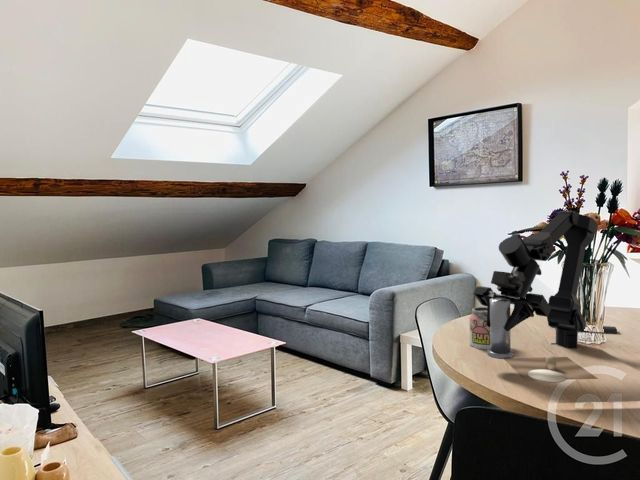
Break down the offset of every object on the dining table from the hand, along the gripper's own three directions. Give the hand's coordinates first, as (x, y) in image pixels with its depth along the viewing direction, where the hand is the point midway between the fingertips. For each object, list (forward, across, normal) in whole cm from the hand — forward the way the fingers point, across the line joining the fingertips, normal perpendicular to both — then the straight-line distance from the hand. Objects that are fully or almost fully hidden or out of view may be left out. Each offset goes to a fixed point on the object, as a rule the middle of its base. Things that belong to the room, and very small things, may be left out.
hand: (496, 328), depth 122 cm
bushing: (+4, 0, +6) cm, 7 cm away
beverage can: (-3, -15, +22) cm, 27 cm away
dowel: (0, +7, +17) cm, 18 cm away
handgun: (-33, -8, +52) cm, 62 cm away
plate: (0, +6, +18) cm, 19 cm away
